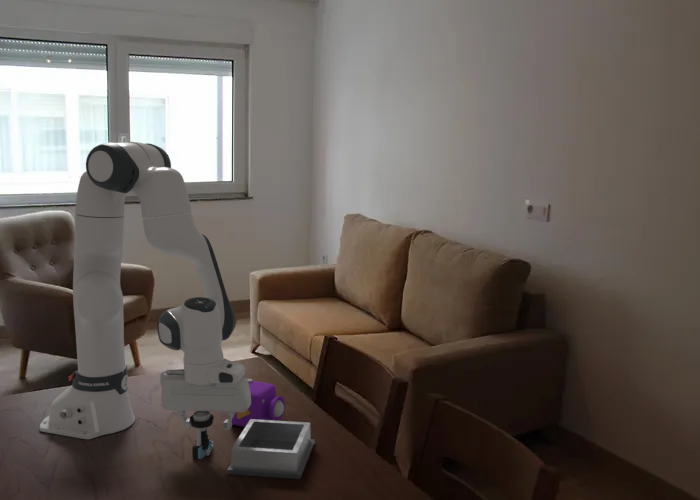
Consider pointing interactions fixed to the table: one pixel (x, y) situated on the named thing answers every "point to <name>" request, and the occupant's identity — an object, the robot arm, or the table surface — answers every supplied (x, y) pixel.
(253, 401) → the toy camera
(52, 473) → the table surface
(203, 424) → the push button
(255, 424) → the grey open box
